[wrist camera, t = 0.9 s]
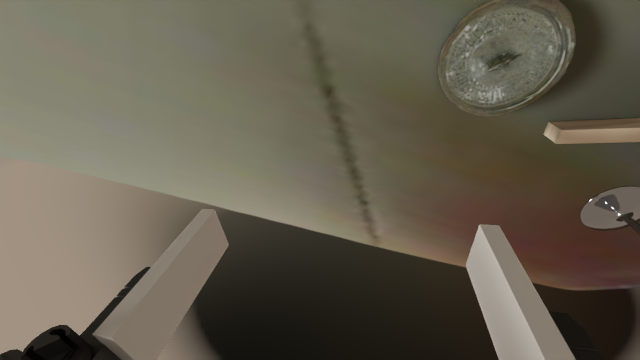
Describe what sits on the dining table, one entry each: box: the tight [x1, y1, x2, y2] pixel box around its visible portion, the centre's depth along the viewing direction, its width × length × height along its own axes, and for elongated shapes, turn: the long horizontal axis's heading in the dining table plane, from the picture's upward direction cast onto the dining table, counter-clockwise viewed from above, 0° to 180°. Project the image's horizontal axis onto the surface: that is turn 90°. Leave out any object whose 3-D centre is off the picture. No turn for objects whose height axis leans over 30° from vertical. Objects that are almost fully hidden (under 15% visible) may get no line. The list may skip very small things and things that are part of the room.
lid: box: [438, 0, 576, 116], centre depth 24 cm, size 11×10×5 cm
